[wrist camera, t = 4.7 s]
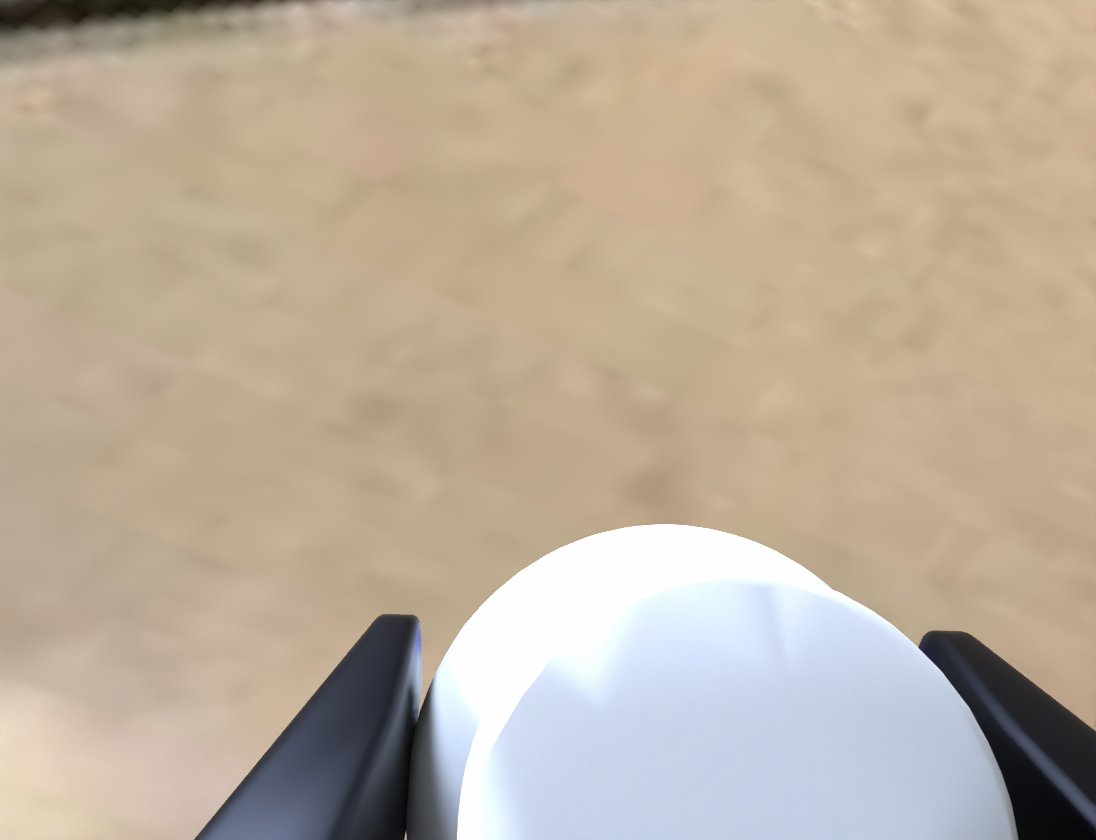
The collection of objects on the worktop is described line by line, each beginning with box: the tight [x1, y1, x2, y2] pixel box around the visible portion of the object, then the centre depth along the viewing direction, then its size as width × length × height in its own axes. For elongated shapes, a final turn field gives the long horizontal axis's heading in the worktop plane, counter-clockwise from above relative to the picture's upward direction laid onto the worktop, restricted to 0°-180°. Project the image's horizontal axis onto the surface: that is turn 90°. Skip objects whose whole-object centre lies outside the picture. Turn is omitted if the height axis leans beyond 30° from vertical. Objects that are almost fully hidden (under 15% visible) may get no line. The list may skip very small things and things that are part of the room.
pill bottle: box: [406, 525, 1018, 840], centre depth 11 cm, size 5×5×10 cm
